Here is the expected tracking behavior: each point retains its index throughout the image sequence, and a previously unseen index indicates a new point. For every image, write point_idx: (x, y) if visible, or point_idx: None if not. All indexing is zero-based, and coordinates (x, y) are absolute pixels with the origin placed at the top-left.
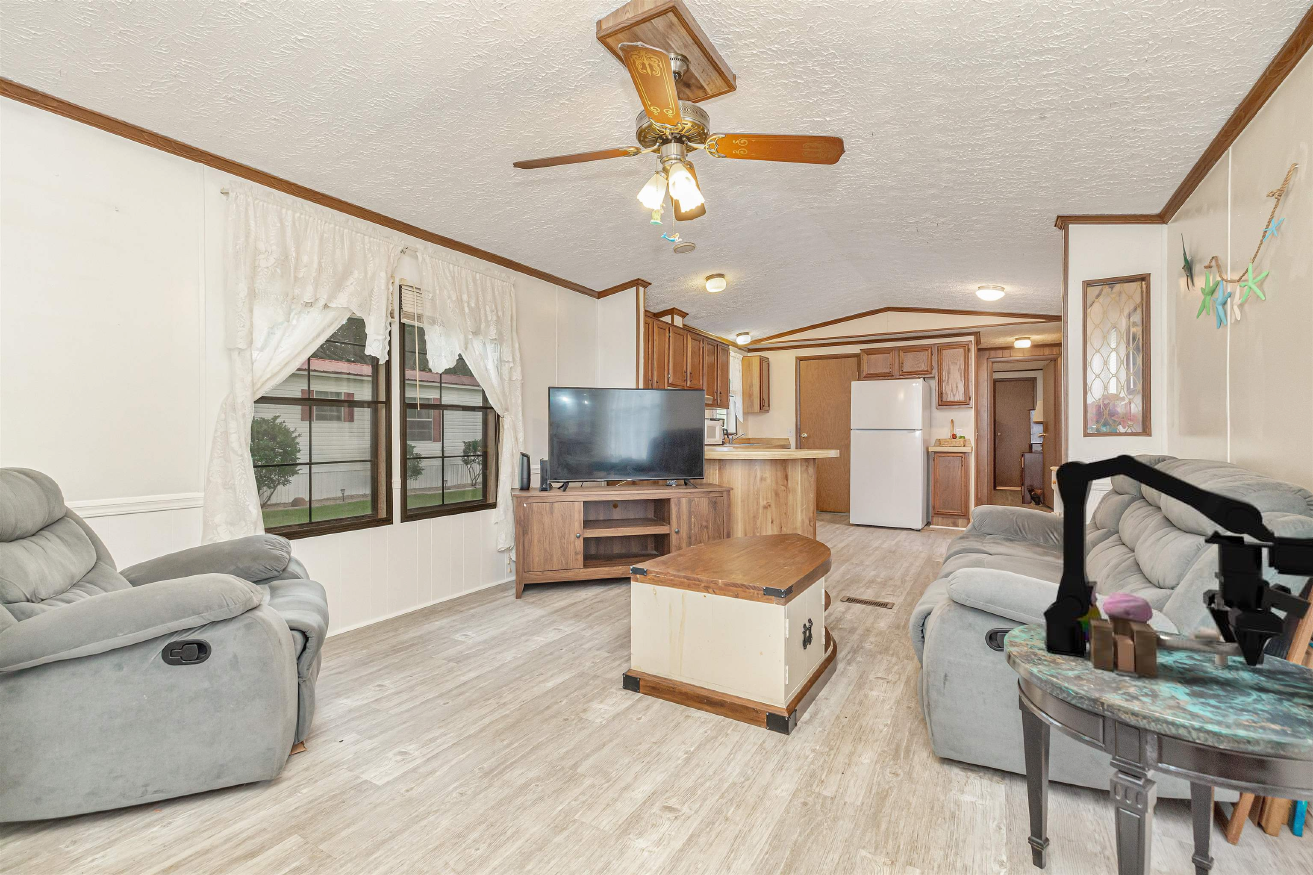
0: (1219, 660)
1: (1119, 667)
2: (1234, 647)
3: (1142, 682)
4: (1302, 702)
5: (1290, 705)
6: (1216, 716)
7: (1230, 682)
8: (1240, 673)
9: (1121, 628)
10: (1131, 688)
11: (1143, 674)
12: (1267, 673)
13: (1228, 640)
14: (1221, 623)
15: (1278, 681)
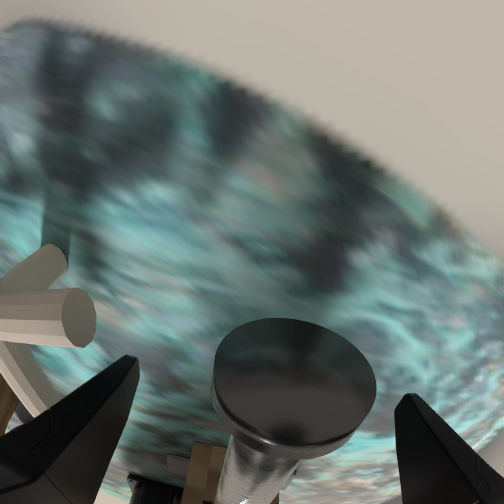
0: (56, 280)
1: None
2: (299, 462)
3: (321, 471)
4: (430, 199)
5: (456, 258)
6: (479, 415)
7: None
8: (130, 247)
9: (7, 417)
10: (357, 481)
11: None
12: (86, 140)
13: (125, 415)
14: (86, 500)
15: (180, 142)
